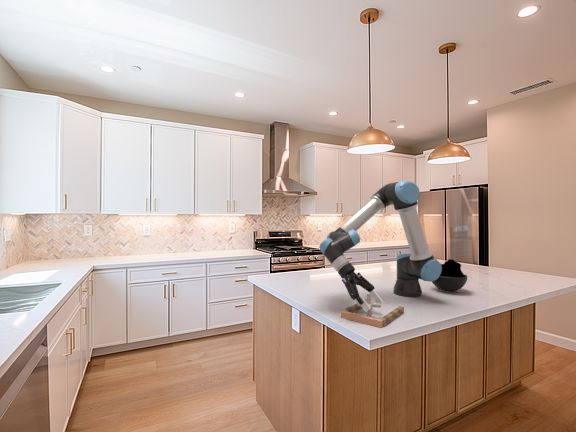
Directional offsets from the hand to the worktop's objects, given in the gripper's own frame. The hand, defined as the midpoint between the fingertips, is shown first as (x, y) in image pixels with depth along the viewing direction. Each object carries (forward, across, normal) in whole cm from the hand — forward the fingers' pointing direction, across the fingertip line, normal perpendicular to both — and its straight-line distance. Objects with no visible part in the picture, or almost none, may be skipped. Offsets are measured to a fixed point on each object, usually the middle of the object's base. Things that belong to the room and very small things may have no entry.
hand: (374, 306), depth 127 cm
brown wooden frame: (+2, -5, -5) cm, 7 cm away
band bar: (+2, +8, -5) cm, 10 cm away
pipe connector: (+2, 0, -5) cm, 6 cm away
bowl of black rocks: (+13, -73, +6) cm, 75 cm away
